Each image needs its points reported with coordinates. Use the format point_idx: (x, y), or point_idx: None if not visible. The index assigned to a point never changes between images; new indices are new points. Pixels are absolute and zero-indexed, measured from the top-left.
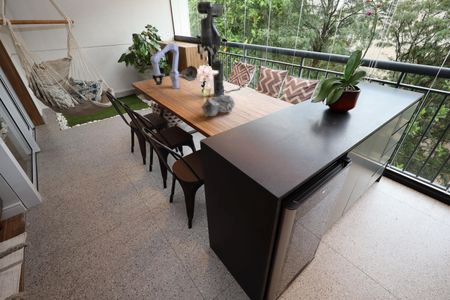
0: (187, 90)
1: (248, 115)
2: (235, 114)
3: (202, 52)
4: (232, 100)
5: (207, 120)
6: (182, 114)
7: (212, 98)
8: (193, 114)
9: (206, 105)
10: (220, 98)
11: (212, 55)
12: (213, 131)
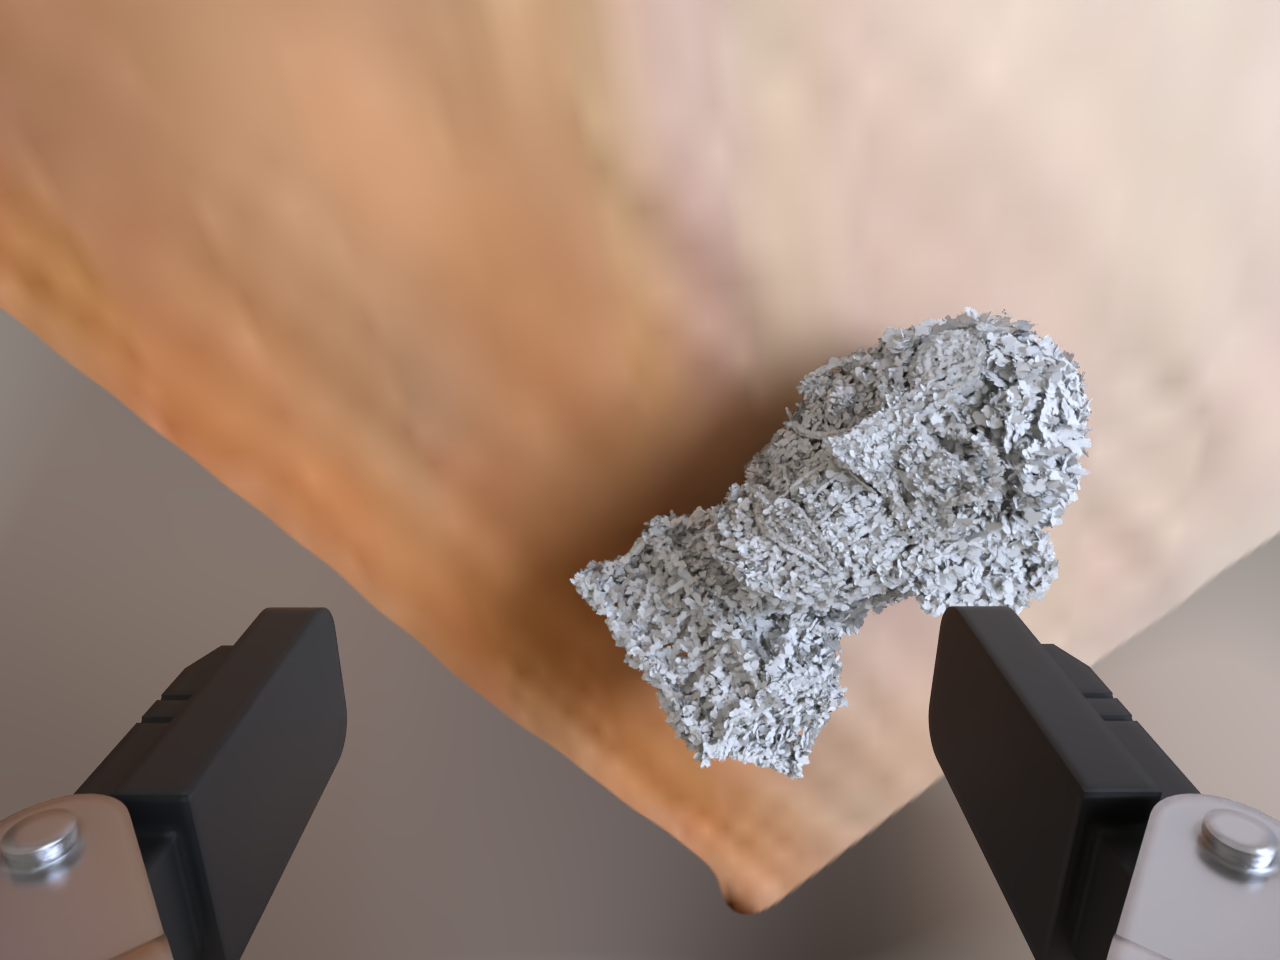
0: None
1: (1204, 468)
2: None
3: (147, 938)
4: (1073, 476)
5: (681, 654)
6: (322, 533)
7: (749, 587)
8: (465, 518)
9: (652, 598)
10: (886, 575)
11: (1055, 940)
12: (780, 854)
